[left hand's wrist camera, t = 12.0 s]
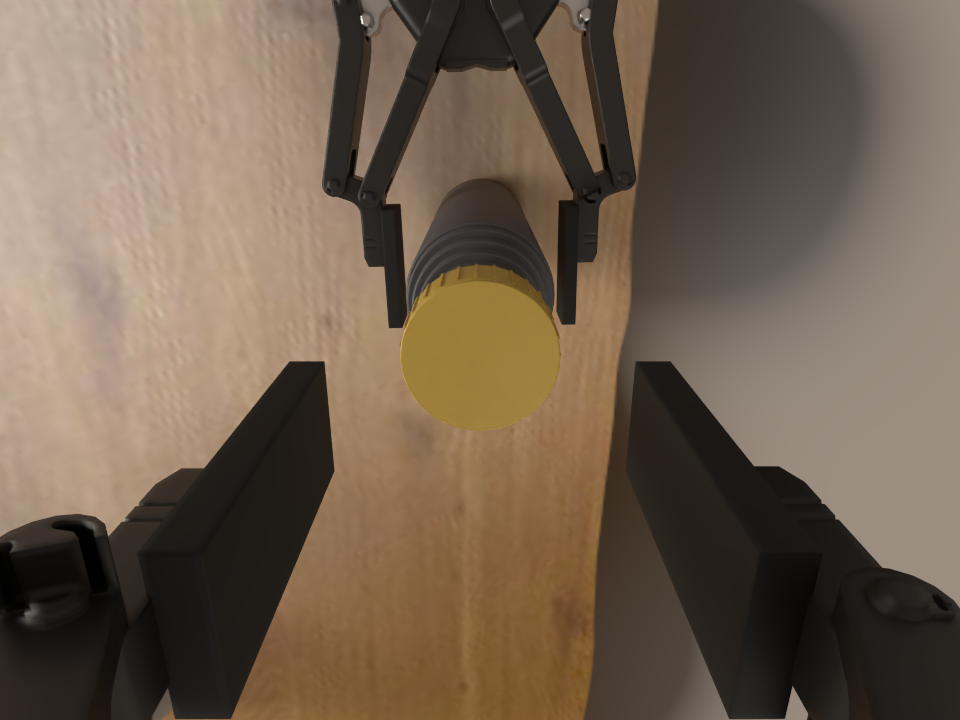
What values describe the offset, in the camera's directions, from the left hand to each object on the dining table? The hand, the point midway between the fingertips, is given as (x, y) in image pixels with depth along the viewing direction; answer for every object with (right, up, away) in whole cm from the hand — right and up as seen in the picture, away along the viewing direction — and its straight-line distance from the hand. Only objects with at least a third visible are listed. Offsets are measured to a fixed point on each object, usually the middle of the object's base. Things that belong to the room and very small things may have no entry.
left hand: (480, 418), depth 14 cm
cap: (0, +1, +4) cm, 4 cm away
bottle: (0, +10, +27) cm, 29 cm away
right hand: (0, +4, +23) cm, 23 cm away
